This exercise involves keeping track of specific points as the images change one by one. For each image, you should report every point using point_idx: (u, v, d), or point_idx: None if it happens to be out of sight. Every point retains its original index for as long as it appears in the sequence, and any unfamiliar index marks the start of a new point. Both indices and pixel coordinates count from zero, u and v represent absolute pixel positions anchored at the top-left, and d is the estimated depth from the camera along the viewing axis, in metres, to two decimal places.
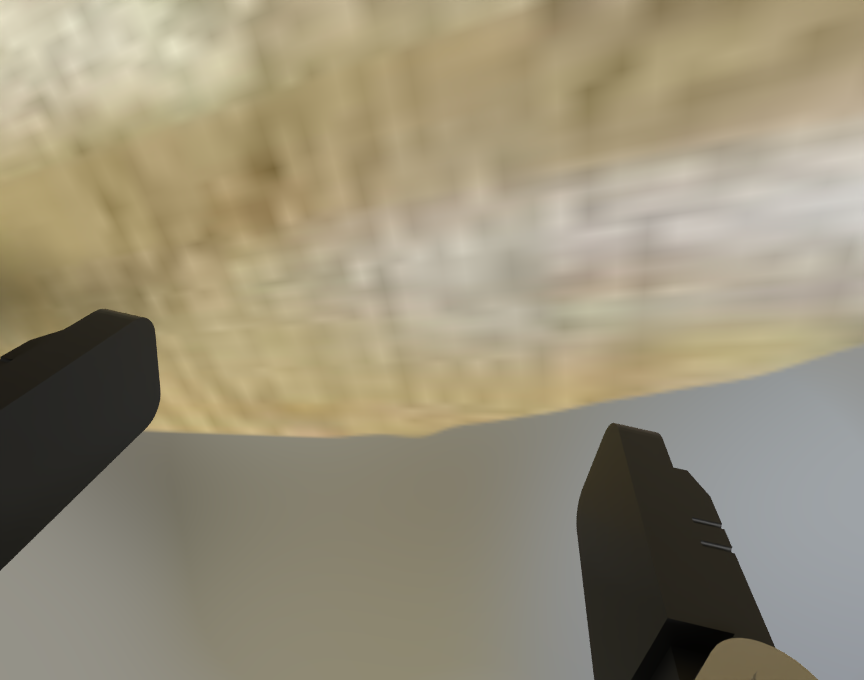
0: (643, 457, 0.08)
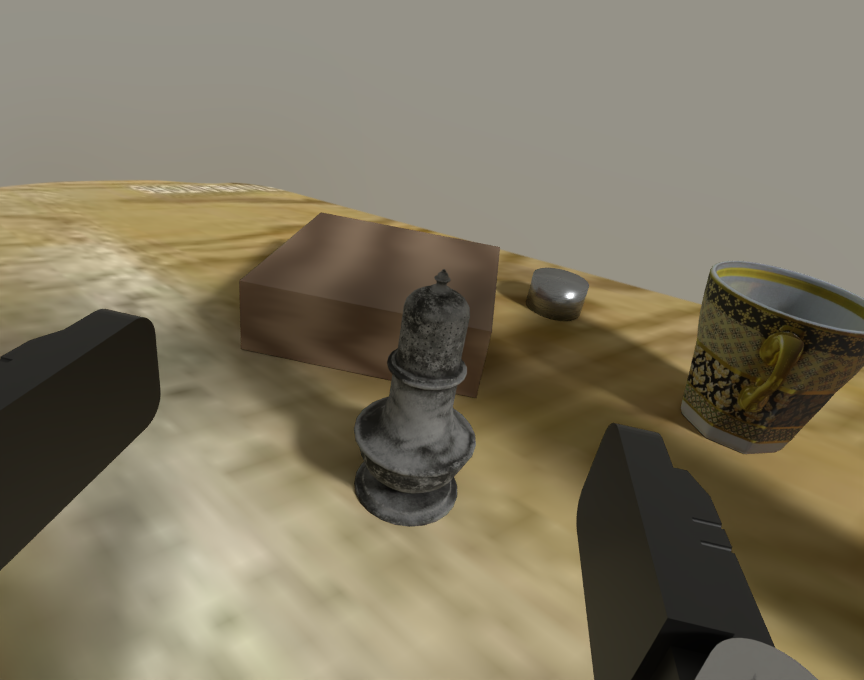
0: (643, 457, 0.08)
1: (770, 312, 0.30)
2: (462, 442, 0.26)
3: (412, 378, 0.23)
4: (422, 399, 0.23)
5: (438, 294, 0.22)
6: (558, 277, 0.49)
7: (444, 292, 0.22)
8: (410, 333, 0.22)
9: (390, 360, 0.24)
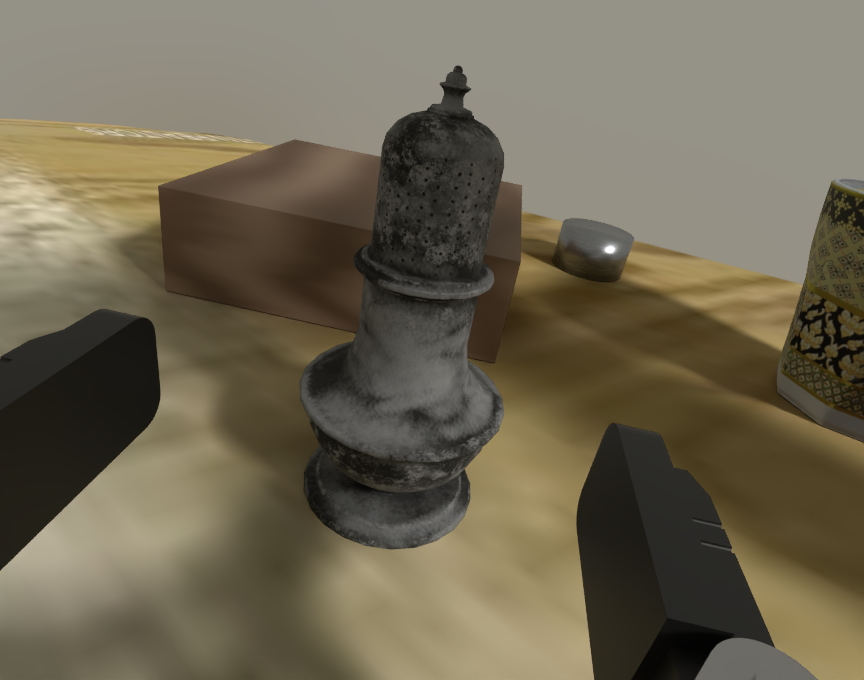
0: (643, 457, 0.08)
1: None
2: (482, 407, 0.15)
3: (396, 278, 0.12)
4: (414, 319, 0.13)
5: (448, 113, 0.12)
6: (595, 227, 0.39)
7: (458, 110, 0.12)
8: (393, 188, 0.12)
9: (359, 254, 0.14)
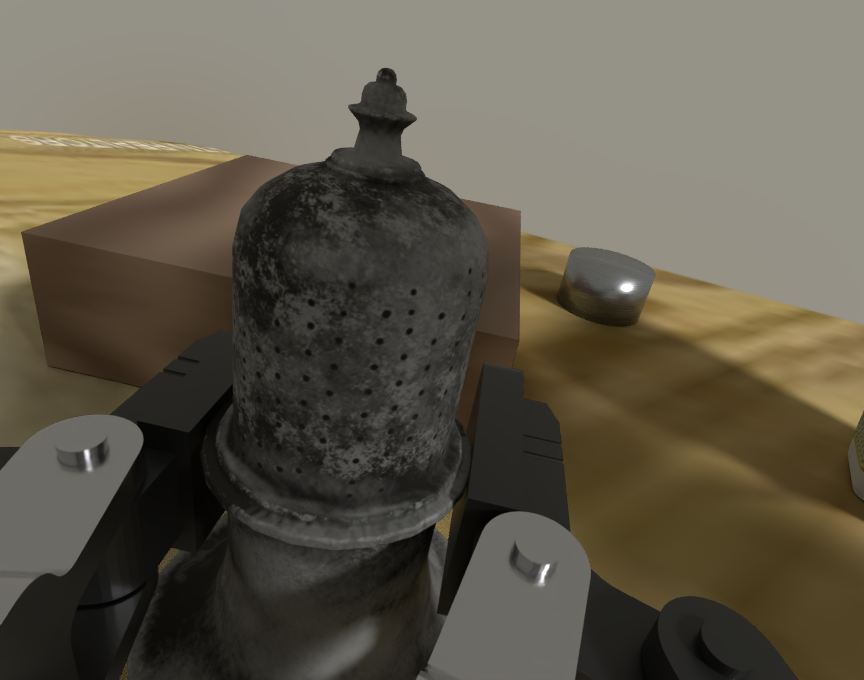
0: (498, 387, 0.09)
1: None
2: None
3: (266, 504, 0.06)
4: (312, 570, 0.07)
5: (365, 172, 0.05)
6: (608, 260, 0.32)
7: (388, 166, 0.05)
8: (248, 333, 0.06)
9: (217, 424, 0.07)
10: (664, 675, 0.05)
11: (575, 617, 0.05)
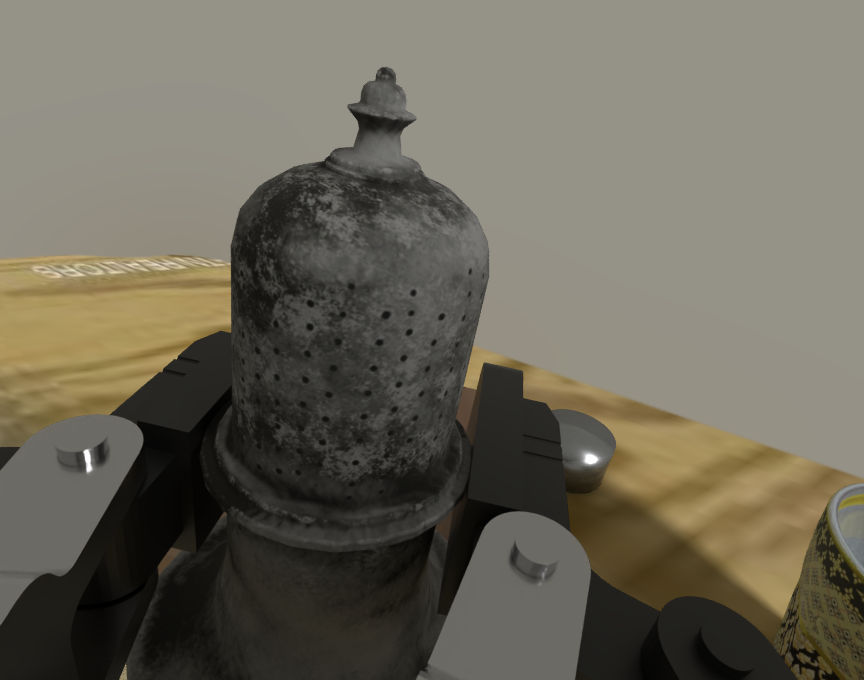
0: (498, 387, 0.09)
1: None
2: None
3: (265, 506, 0.06)
4: (312, 572, 0.07)
5: (363, 172, 0.05)
6: (574, 428, 0.36)
7: (388, 166, 0.05)
8: (247, 334, 0.06)
9: (216, 426, 0.07)
10: (664, 675, 0.05)
11: (575, 617, 0.05)
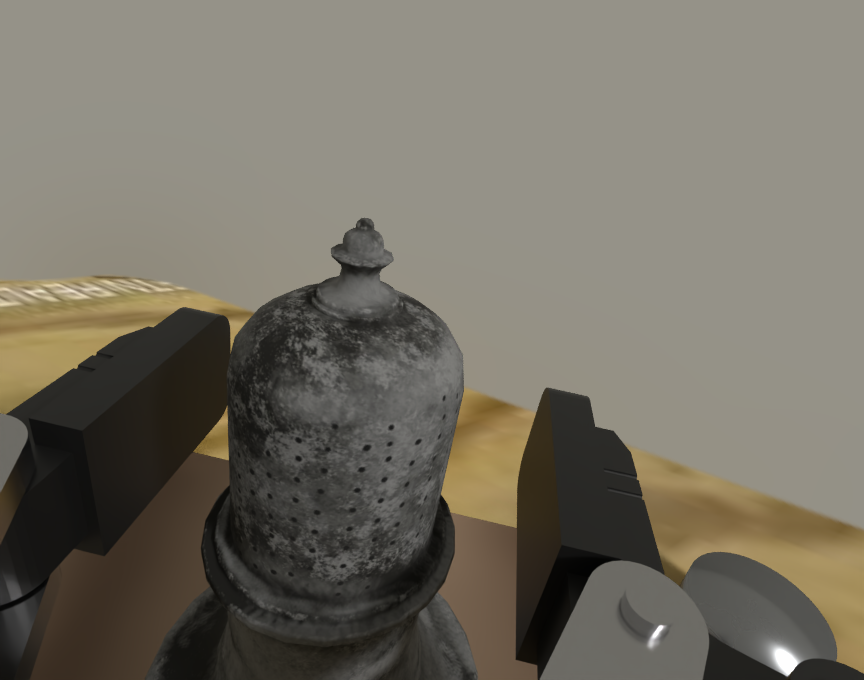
0: (568, 416, 0.08)
1: None
2: None
3: (261, 605, 0.07)
4: (306, 657, 0.07)
5: (347, 313, 0.06)
6: (750, 598, 0.20)
7: (368, 306, 0.06)
8: (243, 455, 0.06)
9: (216, 516, 0.08)
10: None
11: None
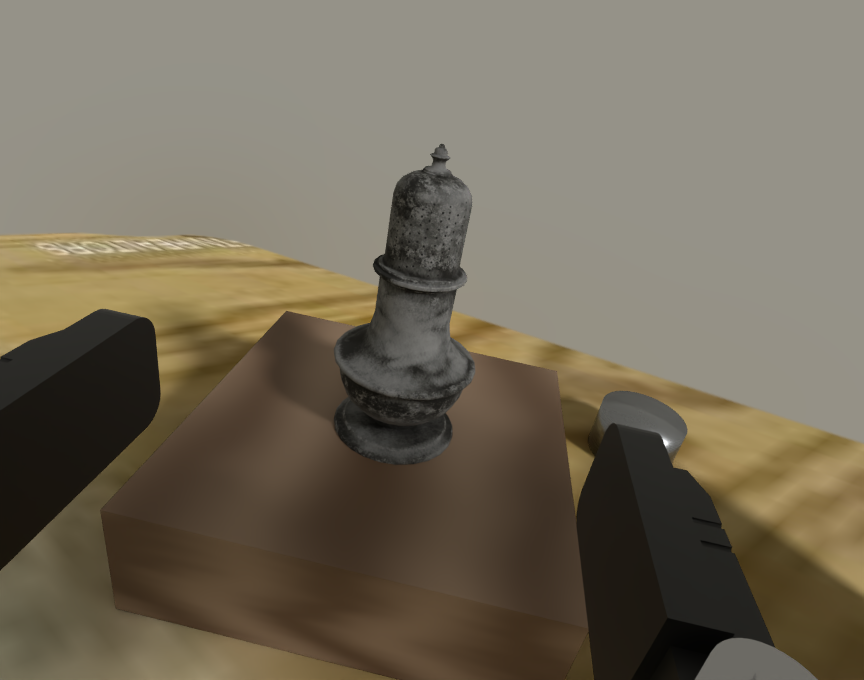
0: (643, 457, 0.08)
1: None
2: (460, 366, 0.22)
3: (402, 277, 0.19)
4: (414, 305, 0.20)
5: (435, 173, 0.19)
6: (639, 410, 0.33)
7: (442, 172, 0.19)
8: (400, 221, 0.19)
9: (377, 262, 0.20)
10: None
11: None
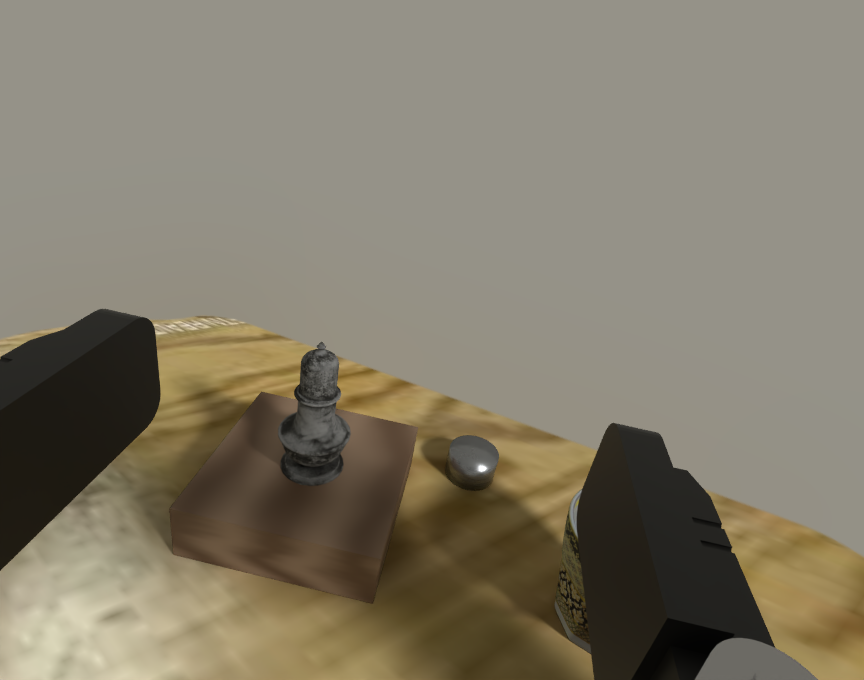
0: (643, 457, 0.08)
1: None
2: (340, 437, 0.44)
3: (305, 400, 0.42)
4: (312, 412, 0.42)
5: (319, 355, 0.41)
6: (473, 448, 0.55)
7: (322, 354, 0.41)
8: (303, 376, 0.41)
9: (296, 390, 0.43)
10: None
11: None
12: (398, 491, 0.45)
